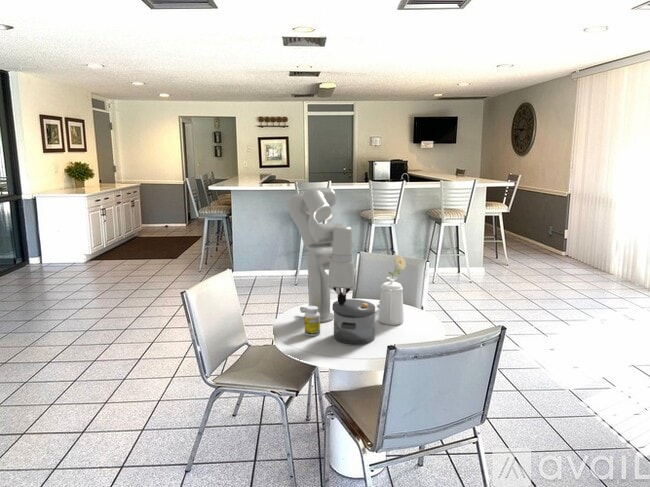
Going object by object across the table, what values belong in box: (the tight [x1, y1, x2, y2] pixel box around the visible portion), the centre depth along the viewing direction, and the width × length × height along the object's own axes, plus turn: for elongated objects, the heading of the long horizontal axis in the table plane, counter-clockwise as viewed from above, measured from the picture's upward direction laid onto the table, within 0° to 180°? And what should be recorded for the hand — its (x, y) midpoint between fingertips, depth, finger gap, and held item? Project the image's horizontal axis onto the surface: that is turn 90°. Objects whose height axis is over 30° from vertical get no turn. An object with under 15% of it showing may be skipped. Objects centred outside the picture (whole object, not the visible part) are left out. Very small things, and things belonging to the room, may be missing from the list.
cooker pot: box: [333, 311, 376, 346], centre depth 186 cm, size 16×21×11 cm
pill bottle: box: [304, 305, 321, 337], centre depth 189 cm, size 6×6×11 cm
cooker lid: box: [331, 298, 376, 317], centre depth 184 cm, size 17×17×3 cm
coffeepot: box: [377, 279, 405, 326], centre depth 202 cm, size 11×25×19 cm, turn 168°
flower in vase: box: [379, 253, 407, 304], centre depth 224 cm, size 13×11×25 cm
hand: (341, 303), depth 186 cm, fingers closed
